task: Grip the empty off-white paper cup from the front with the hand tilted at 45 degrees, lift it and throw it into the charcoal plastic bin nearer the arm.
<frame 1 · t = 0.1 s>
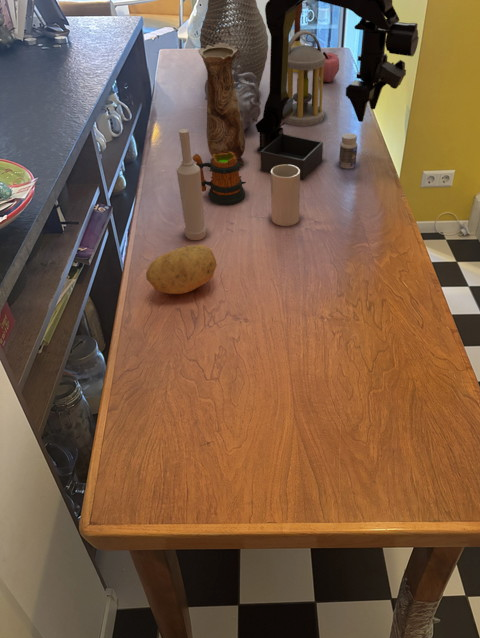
hand: (366, 115, 158), 15 cm above the table, tool pointing down, fingers open, 9 cm apart
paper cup: (285, 218, 149), on the table
mug: (221, 197, 157), on the table
potato: (184, 288, 129), on the table
bottle: (196, 235, 144), on the table
pill bottle: (347, 165, 170), on the table
handbell: (296, 67, 229), on the table
apple: (326, 81, 219), on the table
ornament: (238, 129, 188), on the table
decorative object: (231, 66, 230), on the table
lantern: (302, 117, 195), on the table
vase: (227, 164, 171), on the table
vase 2: (237, 96, 208), on the table
bin: (291, 165, 170), on the table
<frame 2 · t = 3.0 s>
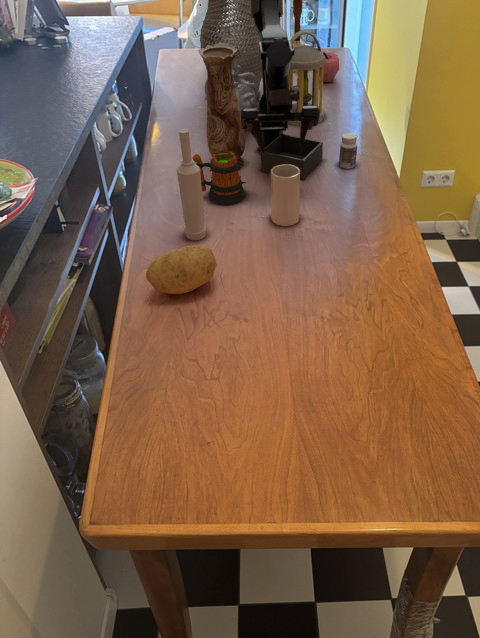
hand: (282, 152, 145), 13 cm above the table, tool tilted 45°, fingers open, 9 cm apart
nothing on the table moved.
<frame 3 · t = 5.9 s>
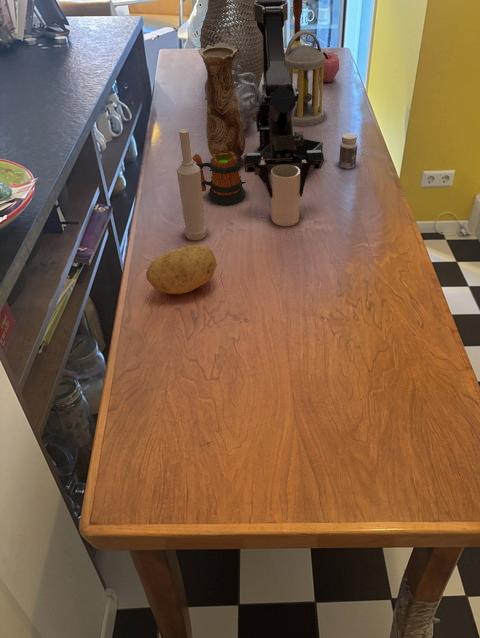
hand: (285, 197, 143), 7 cm above the table, tool tilted 45°, fingers closed on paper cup, 7 cm apart
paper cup: (285, 218, 149), on the table, touching gripper
everything else where it was.
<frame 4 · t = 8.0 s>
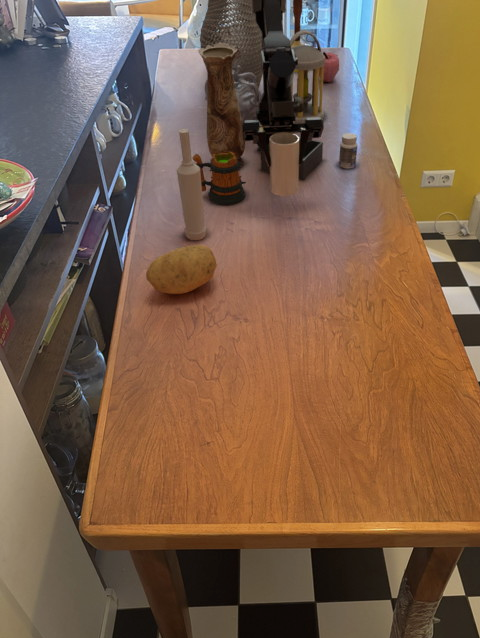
hand: (284, 165, 141), 13 cm above the table, tool tilted 45°, fingers closed on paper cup, 7 cm apart
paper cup: (284, 189, 146), point 7 cm above the table, touching gripper
everything else where it was.
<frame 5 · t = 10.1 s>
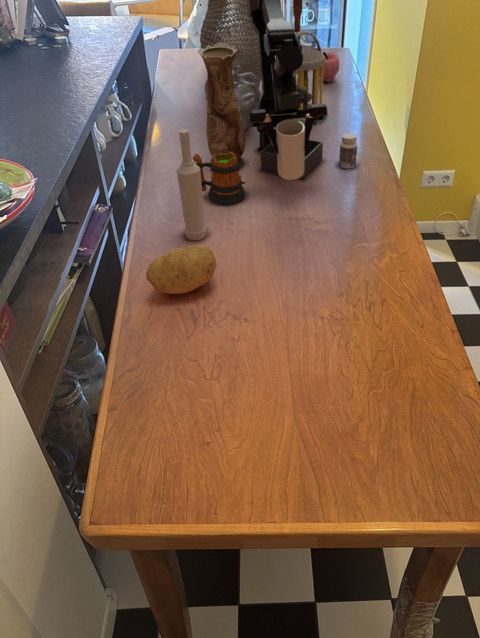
hand: (291, 152, 148), 12 cm above the table, tool tilted 35°, fingers closed on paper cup, 7 cm apart
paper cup: (291, 171, 154), point 6 cm above the table, tilted 12°, touching gripper
everything else where it was.
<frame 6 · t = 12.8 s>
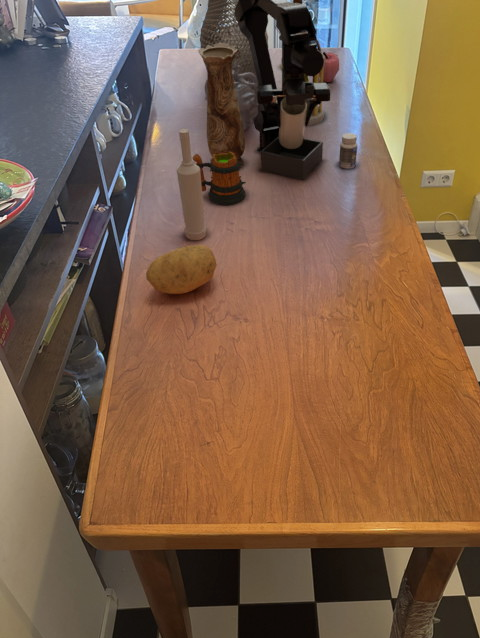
hand: (292, 126, 161), 12 cm above the table, tool pointing down, fingers closed on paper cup, 7 cm apart
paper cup: (291, 139, 167), point 7 cm above the table, tilted 27°, touching gripper
everything else where it was.
when the fingers open (7 cm above the table, at t = 14.7 s): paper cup drops 1 cm, resting on bin.
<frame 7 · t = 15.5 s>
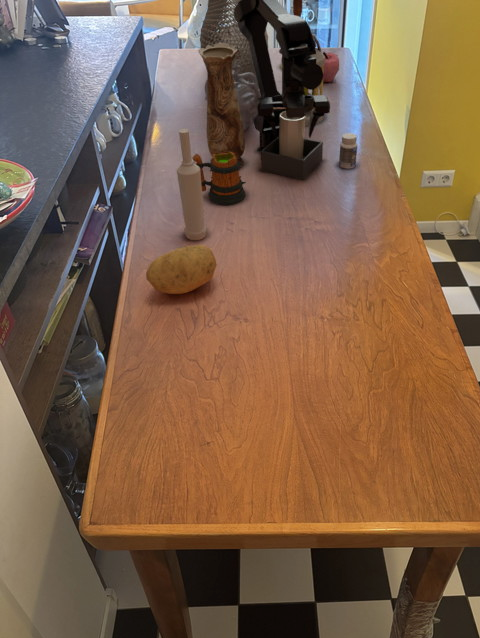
hand: (292, 137, 163), 9 cm above the table, tool pointing down, fingers open, 9 cm apart
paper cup: (290, 159, 171), point 1 cm above the table, touching bin
everything else where it was.
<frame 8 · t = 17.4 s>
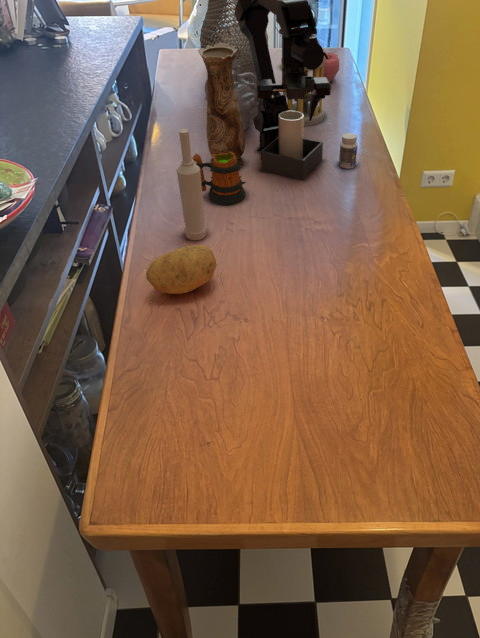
hand: (292, 121, 160), 13 cm above the table, tool pointing down, fingers open, 9 cm apart
nothing on the table moved.
at the end: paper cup inside the target area in the bin (2.6 cm from its centre), point 0.5 cm above the bin's base; the gripper is holding nothing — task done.
